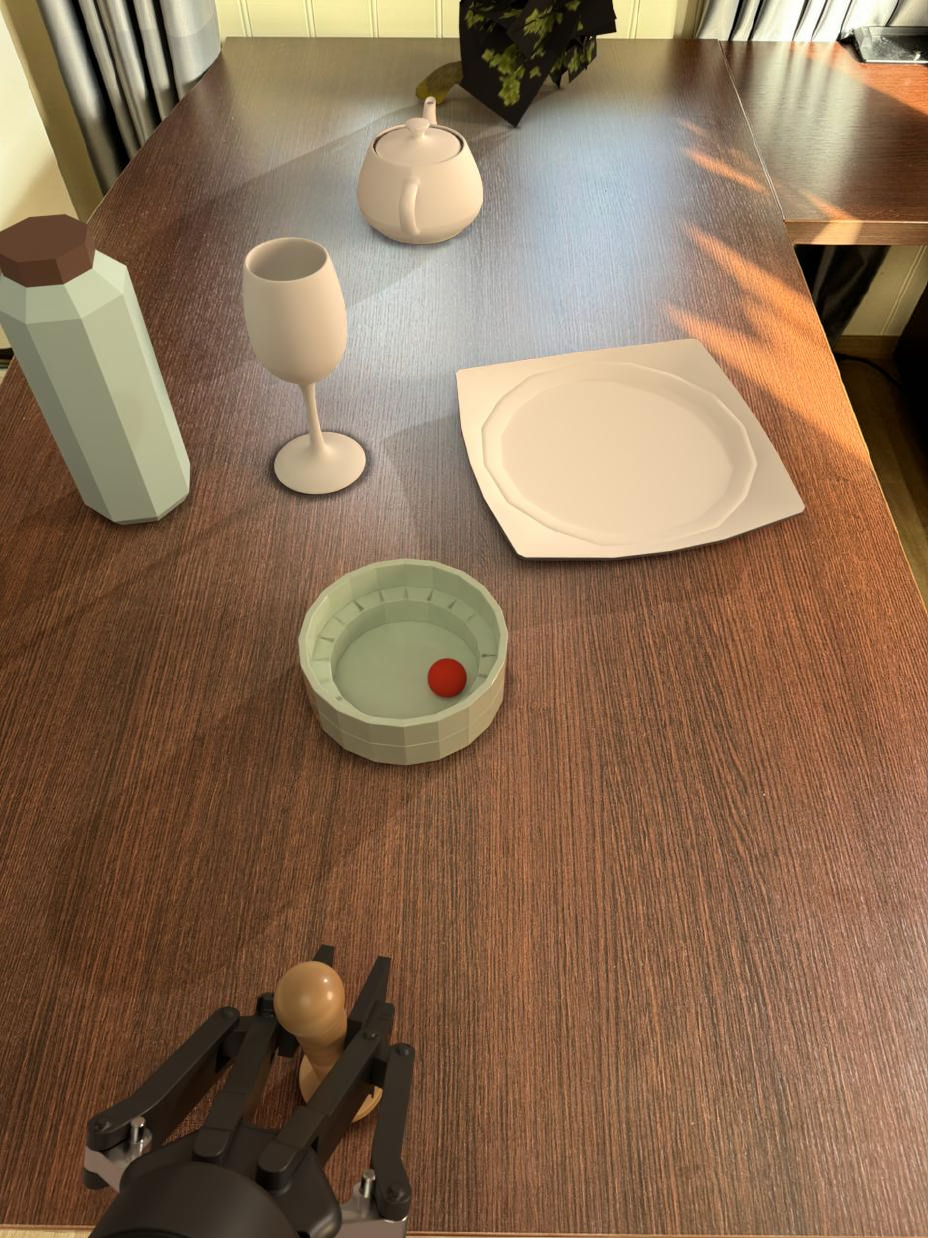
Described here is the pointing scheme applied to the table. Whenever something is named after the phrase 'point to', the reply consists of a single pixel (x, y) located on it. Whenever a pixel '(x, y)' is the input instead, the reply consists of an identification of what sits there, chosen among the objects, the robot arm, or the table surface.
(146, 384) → the water bottle
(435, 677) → the tomato
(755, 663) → the table surface
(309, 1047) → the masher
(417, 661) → the bowl
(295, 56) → the table surface
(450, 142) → the teapot
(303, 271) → the wineglass
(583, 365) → the plate
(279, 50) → the table surface
